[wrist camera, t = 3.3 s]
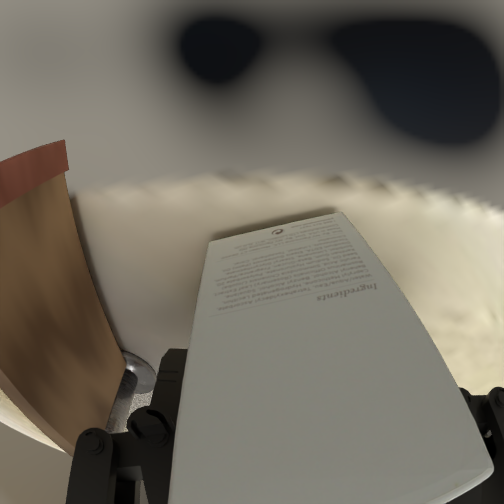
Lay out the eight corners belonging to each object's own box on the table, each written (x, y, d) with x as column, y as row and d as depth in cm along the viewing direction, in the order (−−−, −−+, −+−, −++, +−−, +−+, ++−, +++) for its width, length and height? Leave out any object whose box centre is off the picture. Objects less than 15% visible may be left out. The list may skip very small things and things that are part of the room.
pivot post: (110, 384, 18) (78, 484, 10) (89, 345, 16) (40, 459, 8) (163, 391, 18) (140, 503, 10) (146, 352, 16) (109, 485, 8)
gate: (128, 360, 16) (91, 476, 9) (102, 356, 16) (60, 465, 9) (64, 139, 10) (-97, 219, 2) (33, 148, 10) (-109, 226, 2)
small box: (207, 237, 12) (150, 542, 2) (343, 206, 11) (506, 471, 2) (253, 362, 15) (260, 547, 6) (351, 341, 15) (404, 519, 6)
